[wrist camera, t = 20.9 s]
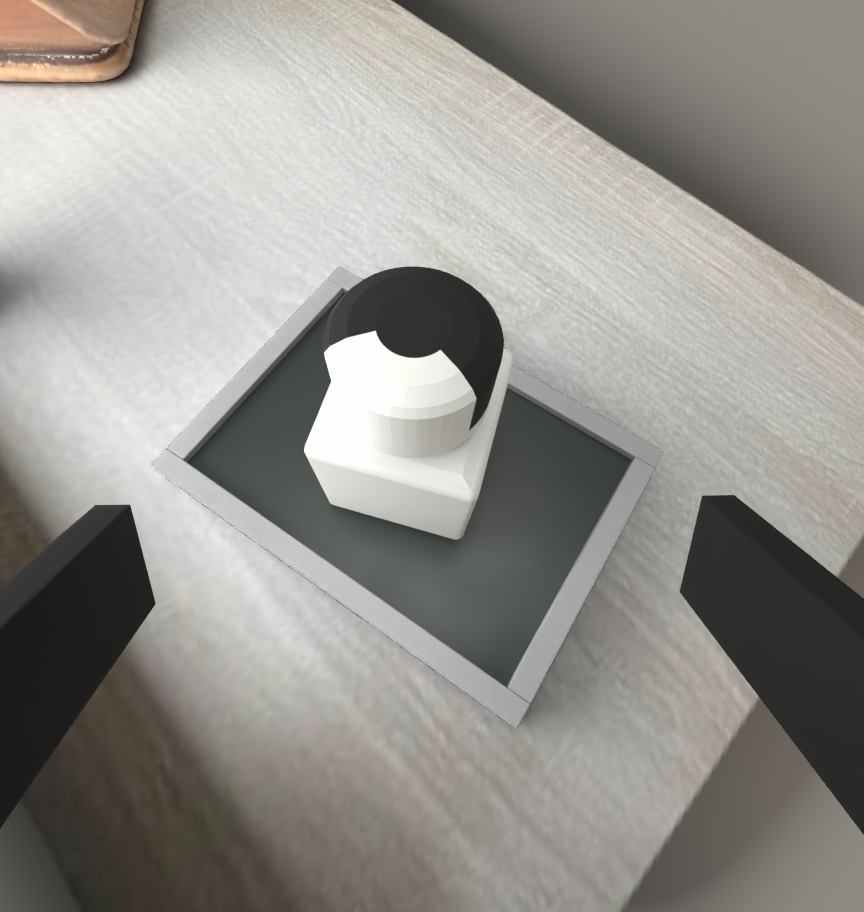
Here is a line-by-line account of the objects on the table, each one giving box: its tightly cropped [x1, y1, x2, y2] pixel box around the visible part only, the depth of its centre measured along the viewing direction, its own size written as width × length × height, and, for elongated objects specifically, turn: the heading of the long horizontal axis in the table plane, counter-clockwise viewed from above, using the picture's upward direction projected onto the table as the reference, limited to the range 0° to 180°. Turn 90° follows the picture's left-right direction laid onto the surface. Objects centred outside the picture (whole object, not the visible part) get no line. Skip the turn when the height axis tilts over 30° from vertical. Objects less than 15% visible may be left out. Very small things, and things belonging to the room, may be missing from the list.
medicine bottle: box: [304, 267, 514, 540], centre depth 22 cm, size 7×7×12 cm
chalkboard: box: [150, 266, 664, 728], centre depth 28 cm, size 22×16×2 cm
